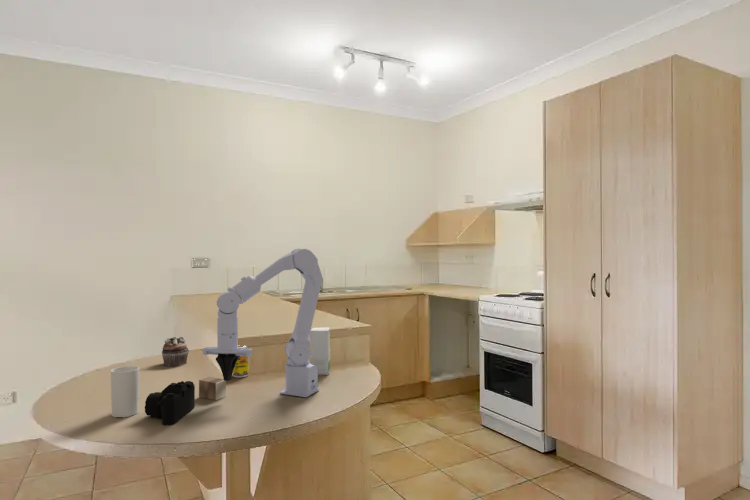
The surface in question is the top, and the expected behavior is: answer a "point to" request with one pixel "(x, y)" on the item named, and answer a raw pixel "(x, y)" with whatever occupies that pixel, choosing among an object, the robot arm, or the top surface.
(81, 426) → the top surface
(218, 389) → the walnut block
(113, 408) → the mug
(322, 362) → the skincare box
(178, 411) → the film camera
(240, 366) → the supplement bottle
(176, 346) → the cupcake
